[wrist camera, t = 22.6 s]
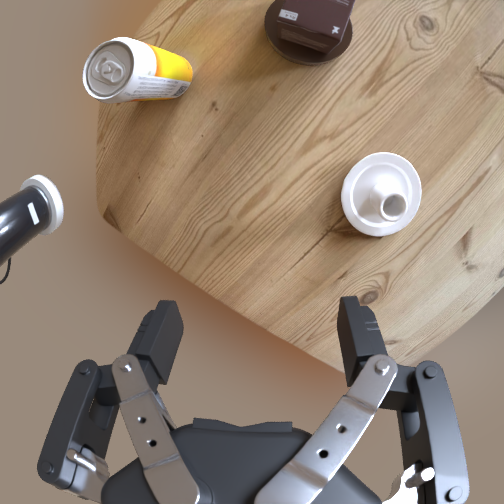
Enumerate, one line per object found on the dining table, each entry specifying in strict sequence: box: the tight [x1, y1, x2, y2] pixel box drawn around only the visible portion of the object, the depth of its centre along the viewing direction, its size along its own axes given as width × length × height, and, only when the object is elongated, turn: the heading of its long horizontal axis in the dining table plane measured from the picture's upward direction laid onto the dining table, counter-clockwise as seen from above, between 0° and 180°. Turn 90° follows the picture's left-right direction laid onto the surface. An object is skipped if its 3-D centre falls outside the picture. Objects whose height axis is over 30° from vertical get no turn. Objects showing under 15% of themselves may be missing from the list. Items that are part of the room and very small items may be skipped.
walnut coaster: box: [265, 0, 353, 66], centre depth 23 cm, size 10×10×2 cm
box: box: [276, 0, 355, 54], centre depth 19 cm, size 6×6×7 cm
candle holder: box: [341, 153, 421, 236], centre depth 32 cm, size 12×12×4 cm
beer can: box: [83, 37, 192, 103], centre depth 22 cm, size 6×6×15 cm
